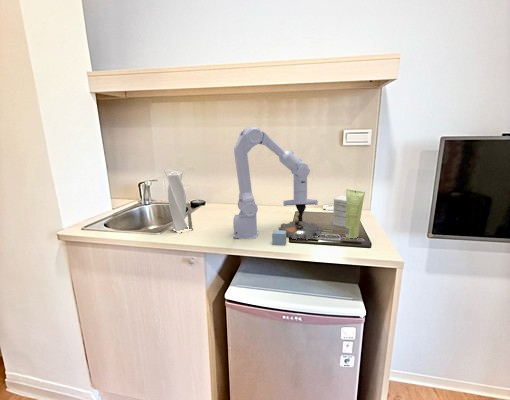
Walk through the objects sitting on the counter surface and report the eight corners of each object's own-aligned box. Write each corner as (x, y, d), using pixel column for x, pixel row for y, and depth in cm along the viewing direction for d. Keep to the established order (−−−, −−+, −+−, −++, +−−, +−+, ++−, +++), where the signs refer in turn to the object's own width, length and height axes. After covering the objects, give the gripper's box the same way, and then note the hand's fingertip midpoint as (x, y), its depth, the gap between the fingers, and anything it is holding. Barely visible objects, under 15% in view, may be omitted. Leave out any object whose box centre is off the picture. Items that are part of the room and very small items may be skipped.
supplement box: (339, 221, 131) (340, 195, 128) (354, 224, 126) (356, 197, 123) (332, 225, 125) (333, 198, 122) (348, 229, 121) (350, 200, 118)
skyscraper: (176, 234, 120) (169, 170, 113) (168, 230, 126) (160, 168, 119) (193, 229, 126) (187, 168, 119) (184, 225, 132) (179, 166, 124)
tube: (357, 235, 114) (360, 188, 109) (361, 240, 109) (365, 191, 104) (343, 235, 114) (346, 189, 109) (347, 240, 109) (349, 191, 104)
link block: (272, 245, 107) (272, 233, 105) (273, 241, 110) (273, 230, 109) (285, 246, 106) (285, 234, 104) (286, 242, 109) (286, 230, 108)
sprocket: (281, 241, 109) (281, 228, 107) (276, 226, 126) (276, 214, 124) (326, 239, 109) (326, 226, 108) (315, 224, 126) (315, 213, 125)
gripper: (315, 188, 122) (315, 217, 126) (282, 189, 123) (283, 218, 127) (318, 191, 116) (318, 222, 119) (283, 192, 116) (284, 223, 120)
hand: (300, 220), depth 122 cm, fingers closed, pressing on sprocket
